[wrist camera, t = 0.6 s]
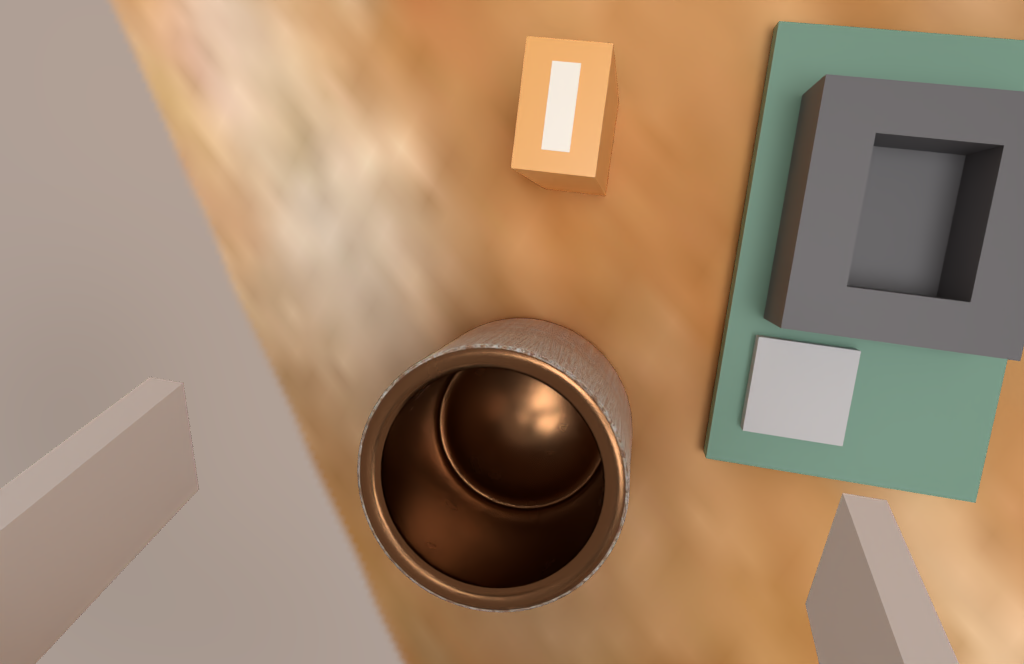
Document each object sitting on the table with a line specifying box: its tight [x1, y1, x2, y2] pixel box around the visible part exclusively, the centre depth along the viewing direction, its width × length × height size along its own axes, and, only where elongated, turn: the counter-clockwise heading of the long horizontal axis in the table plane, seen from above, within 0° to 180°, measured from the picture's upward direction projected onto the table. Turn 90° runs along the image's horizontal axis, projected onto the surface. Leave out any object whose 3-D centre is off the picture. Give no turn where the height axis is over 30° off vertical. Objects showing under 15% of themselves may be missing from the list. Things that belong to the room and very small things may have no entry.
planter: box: [357, 318, 632, 612], centre depth 32 cm, size 11×11×10 cm
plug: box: [511, 36, 619, 196], centre depth 30 cm, size 4×3×10 cm, turn 172°
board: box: [704, 21, 1024, 502], centre depth 31 cm, size 20×12×5 cm, turn 172°
